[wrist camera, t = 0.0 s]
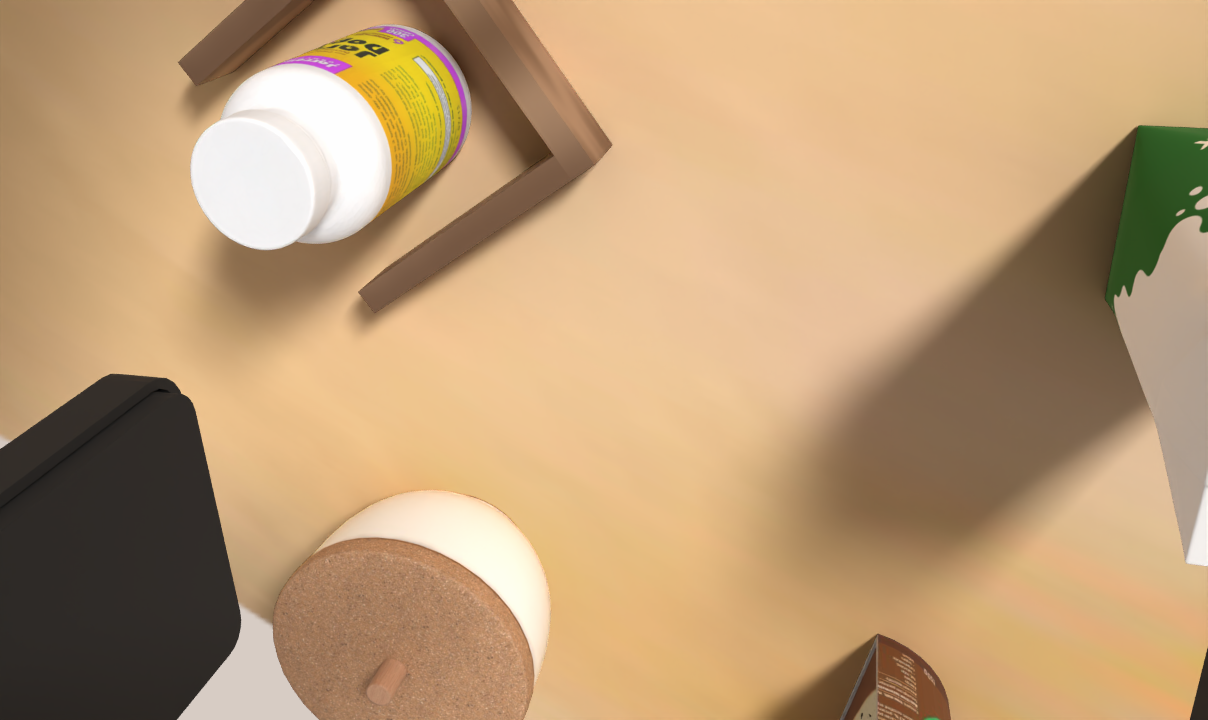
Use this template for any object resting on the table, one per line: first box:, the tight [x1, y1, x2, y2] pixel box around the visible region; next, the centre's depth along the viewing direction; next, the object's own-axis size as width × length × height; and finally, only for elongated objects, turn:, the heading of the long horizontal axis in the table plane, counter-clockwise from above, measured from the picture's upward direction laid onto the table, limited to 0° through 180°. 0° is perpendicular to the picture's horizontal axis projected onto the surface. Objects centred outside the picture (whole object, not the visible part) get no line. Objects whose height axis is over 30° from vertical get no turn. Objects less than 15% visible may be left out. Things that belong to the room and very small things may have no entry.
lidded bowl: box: [273, 490, 551, 720], centre depth 55 cm, size 13×13×11 cm
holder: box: [178, 0, 612, 313], centre depth 48 cm, size 13×13×3 cm
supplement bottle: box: [190, 24, 472, 250], centre depth 44 cm, size 7×7×13 cm
